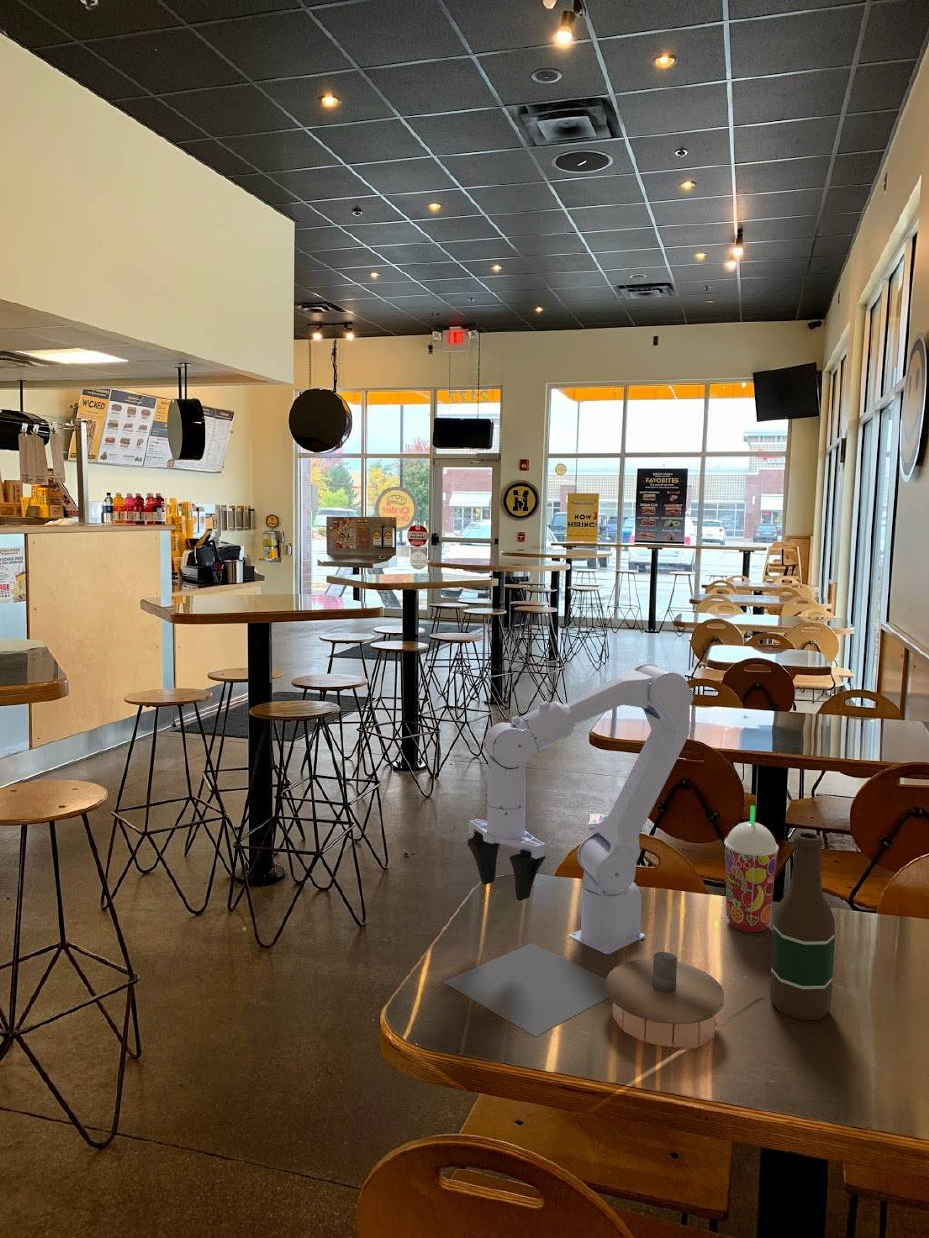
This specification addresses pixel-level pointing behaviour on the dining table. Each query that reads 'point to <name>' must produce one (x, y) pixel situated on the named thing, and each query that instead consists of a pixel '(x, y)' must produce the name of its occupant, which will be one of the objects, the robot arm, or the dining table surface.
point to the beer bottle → (803, 938)
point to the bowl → (666, 1030)
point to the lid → (665, 990)
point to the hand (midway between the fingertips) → (505, 890)
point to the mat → (532, 988)
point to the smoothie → (750, 875)
